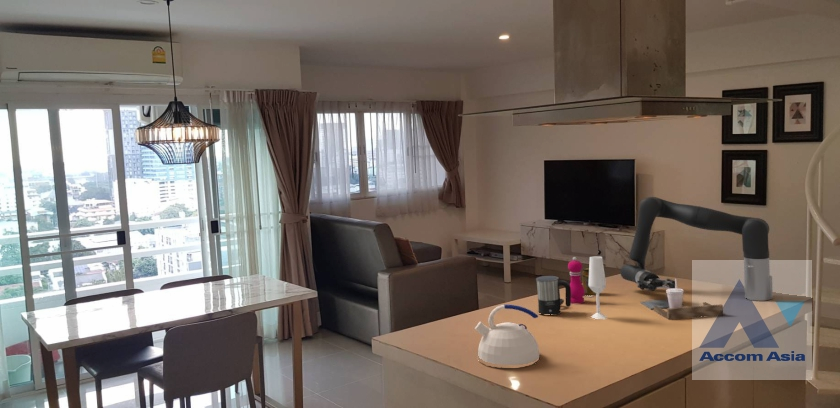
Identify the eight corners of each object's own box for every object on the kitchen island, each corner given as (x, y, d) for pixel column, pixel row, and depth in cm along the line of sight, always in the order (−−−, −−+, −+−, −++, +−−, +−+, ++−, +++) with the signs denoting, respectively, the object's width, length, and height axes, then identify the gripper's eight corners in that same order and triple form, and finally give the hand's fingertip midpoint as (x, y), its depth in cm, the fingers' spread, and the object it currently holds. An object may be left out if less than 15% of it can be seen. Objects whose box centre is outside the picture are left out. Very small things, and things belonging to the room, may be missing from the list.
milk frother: (542, 317, 241) (541, 281, 240) (528, 308, 256) (526, 274, 255) (575, 313, 244) (573, 277, 243) (559, 304, 259) (557, 271, 258)
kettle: (477, 349, 206) (473, 298, 205) (537, 347, 204) (534, 295, 203) (476, 370, 186) (473, 314, 185) (543, 368, 184) (540, 311, 183)
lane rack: (705, 307, 240) (705, 297, 239) (723, 315, 227) (722, 305, 226) (654, 311, 239) (653, 301, 239) (668, 319, 226) (668, 309, 226)
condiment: (600, 293, 274) (599, 267, 273) (590, 297, 268) (589, 271, 267) (586, 291, 279) (584, 266, 278) (576, 295, 273) (575, 269, 272)
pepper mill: (587, 300, 262) (585, 255, 261) (582, 304, 256) (580, 258, 255) (571, 299, 266) (569, 255, 265) (566, 303, 260) (563, 258, 259)
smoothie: (687, 316, 229) (686, 280, 228) (670, 317, 229) (669, 281, 228) (680, 311, 235) (679, 276, 234) (664, 312, 235) (662, 277, 234)
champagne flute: (597, 320, 231) (594, 259, 229) (586, 316, 237) (583, 257, 235) (611, 317, 234) (608, 257, 232) (599, 314, 240) (597, 255, 238)
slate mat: (666, 301, 253) (666, 299, 253) (678, 307, 242) (678, 306, 242) (640, 303, 252) (640, 301, 252) (651, 309, 242) (651, 308, 241)
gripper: (630, 272, 257) (645, 280, 241) (663, 270, 258) (680, 277, 241) (631, 289, 258) (646, 298, 242) (663, 287, 258) (681, 295, 242)
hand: (663, 287), depth 242 cm, fingers open, 8 cm apart
